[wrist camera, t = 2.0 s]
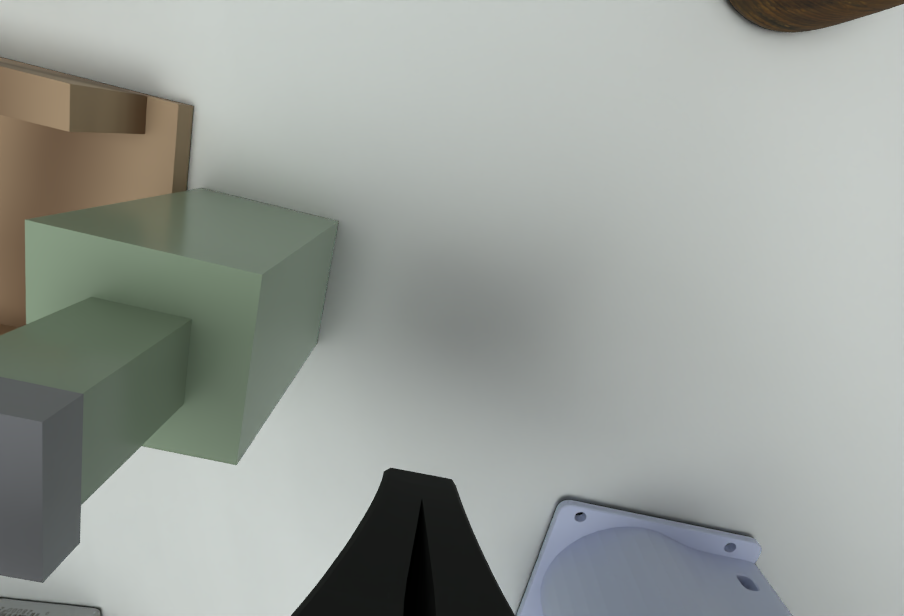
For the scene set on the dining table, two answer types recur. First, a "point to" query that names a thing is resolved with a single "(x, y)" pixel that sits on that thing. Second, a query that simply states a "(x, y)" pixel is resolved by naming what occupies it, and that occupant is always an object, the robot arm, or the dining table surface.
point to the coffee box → (42, 609)
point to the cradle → (77, 157)
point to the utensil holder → (807, 12)
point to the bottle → (147, 348)
